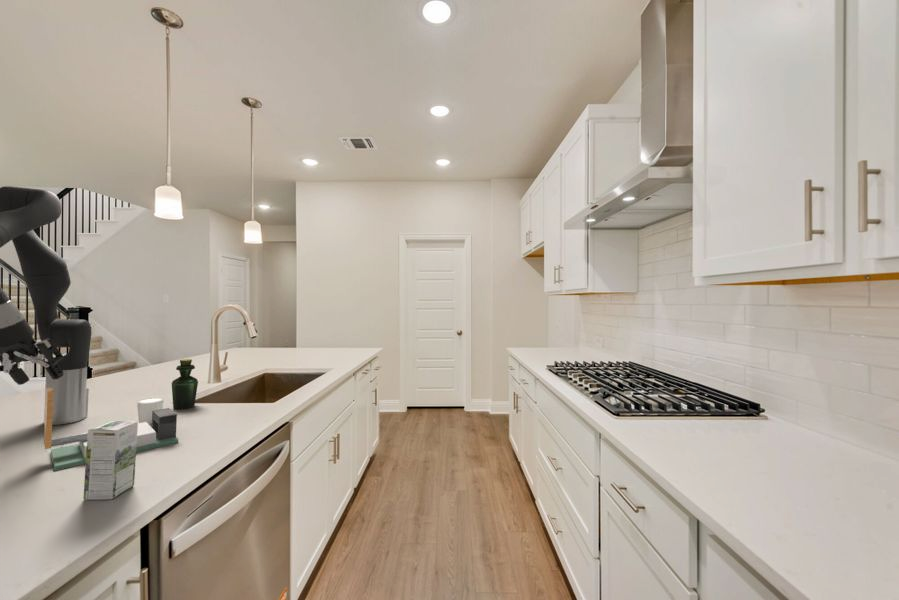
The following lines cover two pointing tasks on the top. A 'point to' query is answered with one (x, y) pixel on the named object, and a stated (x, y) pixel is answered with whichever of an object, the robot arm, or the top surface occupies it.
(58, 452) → the heatsink board
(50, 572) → the top surface
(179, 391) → the potion bottle
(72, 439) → the wooden l-shaped piece
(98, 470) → the syrup box
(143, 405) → the white cup
